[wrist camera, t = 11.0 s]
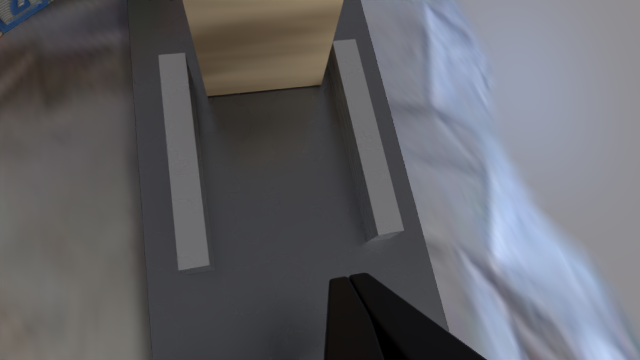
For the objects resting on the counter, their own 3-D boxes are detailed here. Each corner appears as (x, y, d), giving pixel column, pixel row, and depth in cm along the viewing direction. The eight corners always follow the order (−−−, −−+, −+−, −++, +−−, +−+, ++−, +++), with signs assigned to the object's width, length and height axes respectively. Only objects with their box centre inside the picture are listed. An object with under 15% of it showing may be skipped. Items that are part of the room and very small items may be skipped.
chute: (442, 357, 20) (479, 366, 16) (166, 425, 17) (144, 452, 14) (348, -8, 26) (361, -55, 23) (134, 4, 23) (112, -46, 20)
